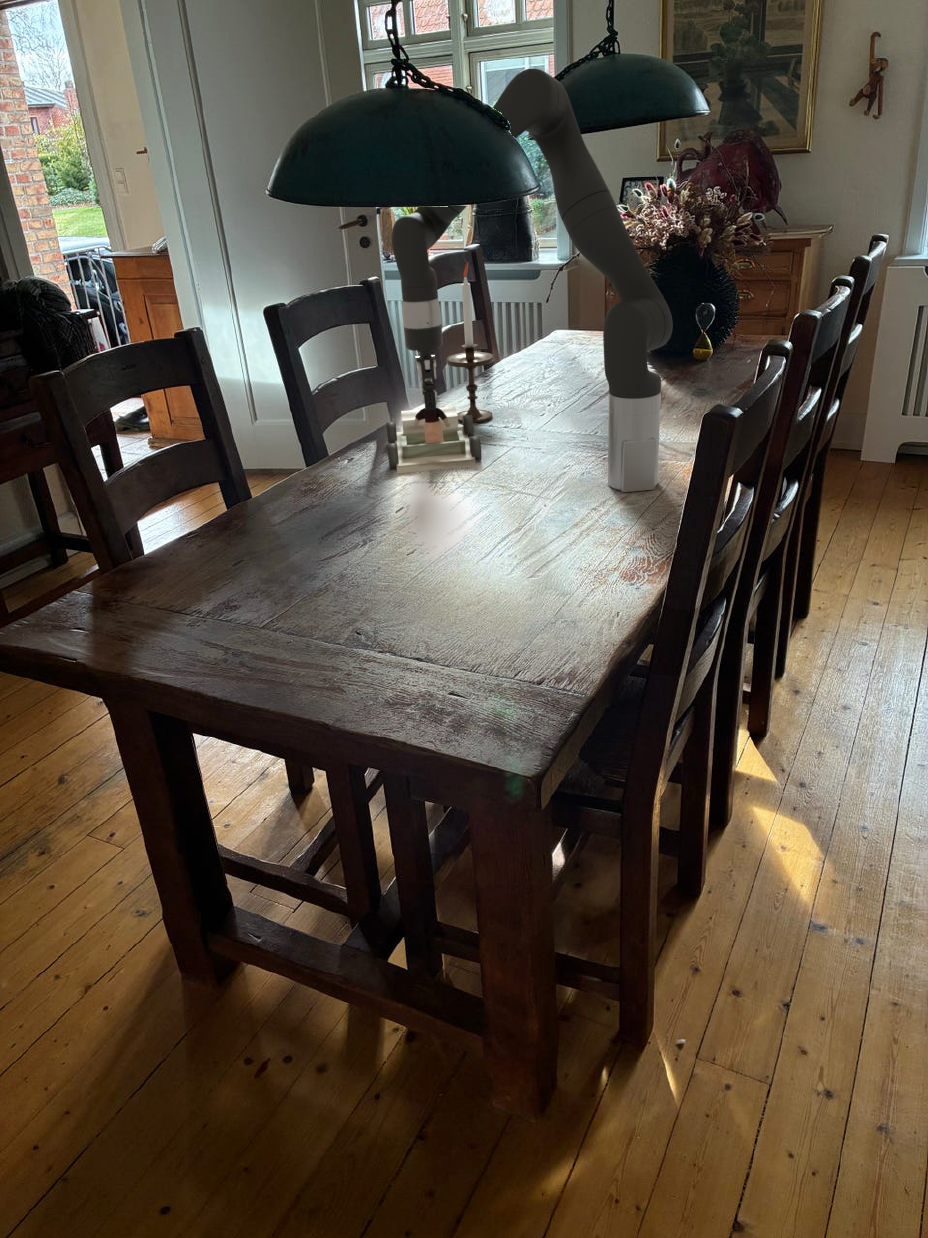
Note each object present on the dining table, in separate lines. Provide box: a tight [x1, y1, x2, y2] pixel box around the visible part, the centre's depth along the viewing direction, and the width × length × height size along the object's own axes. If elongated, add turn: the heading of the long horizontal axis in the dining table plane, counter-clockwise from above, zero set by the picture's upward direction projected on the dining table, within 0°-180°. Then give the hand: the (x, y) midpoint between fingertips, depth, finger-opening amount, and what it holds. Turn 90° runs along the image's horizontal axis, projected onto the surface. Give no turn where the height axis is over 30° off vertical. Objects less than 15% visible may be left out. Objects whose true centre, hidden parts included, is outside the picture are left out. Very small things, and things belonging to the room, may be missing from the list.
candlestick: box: [446, 261, 495, 425], centre depth 210 cm, size 11×11×35 cm
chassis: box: [386, 406, 482, 474], centre depth 196 cm, size 24×19×6 cm
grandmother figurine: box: [414, 390, 450, 443], centre depth 191 cm, size 8×4×13 cm, turn 88°
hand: (429, 404), depth 189 cm, fingers open, 8 cm apart
